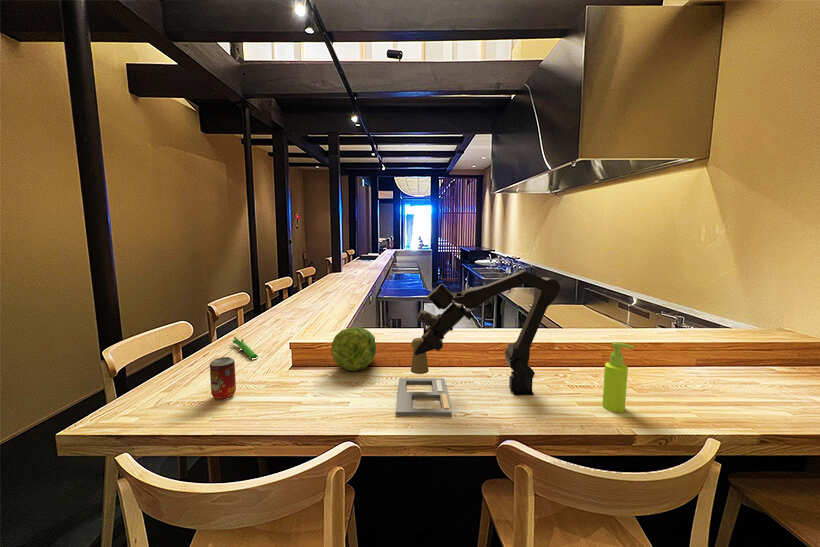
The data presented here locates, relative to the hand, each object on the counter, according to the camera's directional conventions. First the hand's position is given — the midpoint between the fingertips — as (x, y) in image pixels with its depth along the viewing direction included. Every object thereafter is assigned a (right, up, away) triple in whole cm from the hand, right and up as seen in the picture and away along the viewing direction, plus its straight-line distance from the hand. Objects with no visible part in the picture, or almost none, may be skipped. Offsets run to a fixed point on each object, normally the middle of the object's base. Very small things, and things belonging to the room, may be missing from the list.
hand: (415, 351), depth 116 cm
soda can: (-62, -14, -4) cm, 63 cm away
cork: (+1, -7, +1) cm, 7 cm away
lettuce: (-22, -11, +25) cm, 35 cm away
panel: (+2, -14, -4) cm, 14 cm away
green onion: (-77, -9, +41) cm, 87 cm away
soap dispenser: (+60, -15, -11) cm, 63 cm away
